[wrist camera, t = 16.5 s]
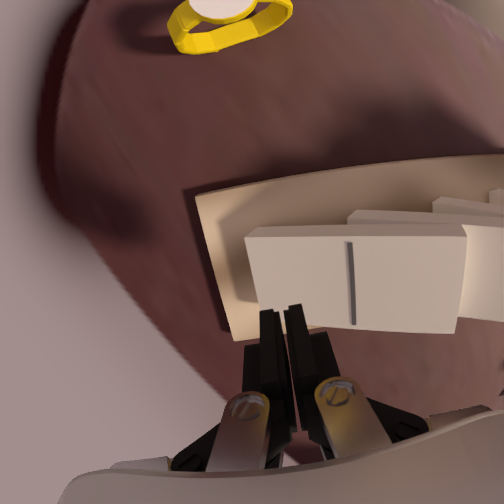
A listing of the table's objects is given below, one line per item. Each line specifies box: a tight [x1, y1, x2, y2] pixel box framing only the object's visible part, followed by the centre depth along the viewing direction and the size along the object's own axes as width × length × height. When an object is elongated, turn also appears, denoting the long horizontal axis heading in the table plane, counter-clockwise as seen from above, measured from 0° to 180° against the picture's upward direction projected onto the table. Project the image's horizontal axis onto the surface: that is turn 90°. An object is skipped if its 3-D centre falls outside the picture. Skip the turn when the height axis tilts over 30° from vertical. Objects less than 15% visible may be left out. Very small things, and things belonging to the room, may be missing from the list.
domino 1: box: [244, 224, 467, 334], centre depth 15 cm, size 2×5×11 cm
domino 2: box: [347, 210, 504, 322], centre depth 14 cm, size 2×5×11 cm
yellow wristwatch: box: [167, 0, 293, 55], centre depth 11 cm, size 6×3×6 cm, turn 111°
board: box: [195, 154, 504, 341], centre depth 17 cm, size 10×28×1 cm, turn 101°
